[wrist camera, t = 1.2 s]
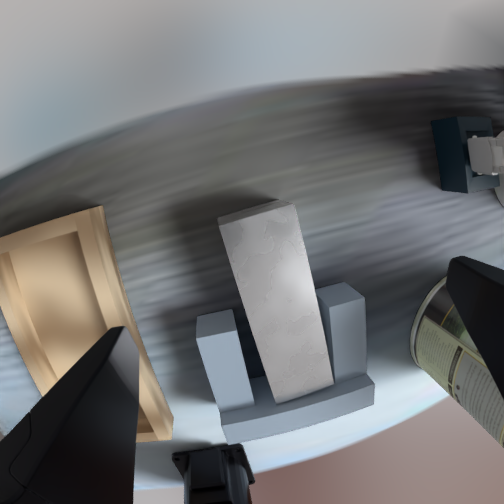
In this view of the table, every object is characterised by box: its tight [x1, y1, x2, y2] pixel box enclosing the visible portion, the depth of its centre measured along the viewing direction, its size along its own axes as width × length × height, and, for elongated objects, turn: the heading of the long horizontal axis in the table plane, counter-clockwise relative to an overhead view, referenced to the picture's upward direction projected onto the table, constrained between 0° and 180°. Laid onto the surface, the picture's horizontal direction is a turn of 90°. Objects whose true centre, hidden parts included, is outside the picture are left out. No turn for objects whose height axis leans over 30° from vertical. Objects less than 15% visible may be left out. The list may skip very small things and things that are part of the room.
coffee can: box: [410, 276, 504, 448], centre depth 18 cm, size 10×10×14 cm
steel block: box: [217, 200, 334, 404], centre depth 19 cm, size 12×4×4 cm, turn 16°
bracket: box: [196, 282, 375, 445], centre depth 20 cm, size 8×10×4 cm
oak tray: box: [0, 205, 174, 443], centre depth 19 cm, size 17×9×3 cm, turn 10°
